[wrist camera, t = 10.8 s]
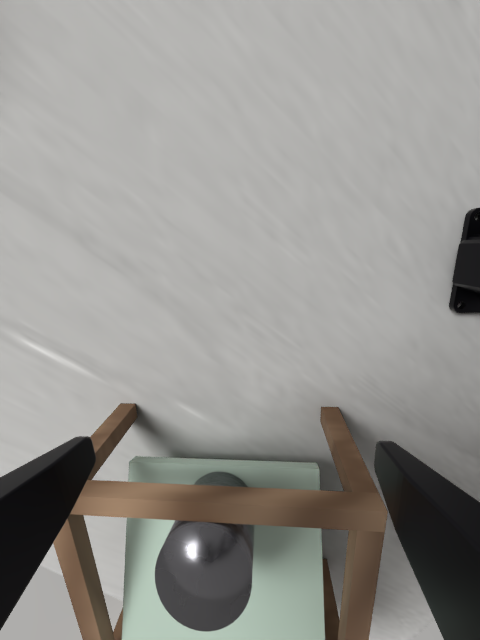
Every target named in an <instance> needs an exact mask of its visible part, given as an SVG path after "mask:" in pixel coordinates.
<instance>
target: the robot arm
mask: <svg viewBox="0 0 480 640" xmlns="http://www.w3.org/2000/svg"><path fill="white" fill-rule="evenodd" d="M476 213H477V214H478V219H477V220H475V219H474V216H475V214H476ZM460 302H461V306H460V307H457V305H458V303H460ZM449 307H450V309H451V310H453V311H455V312H459V313H474V312H480V208H475V209H472V210H470V211H469V212H468V213H467V214H466V217H465V221H464V227H463V232H462V238H461V243H460V244H459V248H458V254H457V259H456V265H455V270H454V276H453V287H452V292H451V298H450V303H449ZM95 462H96V455H95V450H94V446H93V442H92V439H91V438H90V437H82V436H79V437H75V438H73V439H71V440H70V441H68V442H66V443H64V444H62V445H60V446H58V447H57V448H55V449H53V450H51V451H49V452H47V453H45V454H43V455H42V456H40V457H38V458H36V459H34V460H32V461H30V462H28V463H27V464H25V465H23V466H21V467H19V468H17V469H15V470H14V471H12V472H10V473H8V474H6V475H4V476H2V477H0V630H1V628H2V627H3V625H4V623H5V622H6V620H7V618H8V616H9V615H10V613H11V612H12V610H13V608H14V607H15V605H16V603H17V602H18V600H19V599H20V597H21V595H22V594H23V592H24V590H25V589H26V587H27V585H28V584H29V582H30V580H31V579H32V577H33V575H34V574H35V572H36V570H37V569H38V567H39V565H40V564H41V562H42V560H43V559H44V557H45V555H46V554H47V552H48V550H49V549H50V547H51V545H52V544H53V542H54V540H55V539H56V537H57V535H58V534H59V532H60V530H61V529H62V527H63V525H64V524H65V522H66V520H67V519H68V517H69V515H70V513H71V511H72V509H73V507H74V506H75V504H76V502H77V500H78V498H79V496H80V494H81V492H82V490H83V488H84V486H85V483H86V481H87V479H88V477H89V475H90V473H91V471H92V469H93V467H94V465H95ZM374 466H375V472H376V475H377V478H378V481H379V484H380V487H381V490H382V493H383V496H384V498H385V501H386V504H387V507H388V510H389V513H390V516H391V519H392V522H393V525H394V527H395V530H396V533H397V535H398V537H399V540H400V542H401V544H402V547H403V549H404V551H405V553H406V556H407V558H408V560H409V562H410V565H411V567H412V569H413V571H414V574H415V576H416V578H417V580H418V582H419V585H420V587H421V589H422V591H423V594H424V596H425V598H426V600H427V603H428V605H429V607H430V609H431V612H432V614H433V616H434V618H435V621H436V623H437V625H438V627H439V629H440V632H441V634H442V636H443V638H444V640H480V502H478V501H477V500H475V499H474V498H473V497H471V496H470V495H468V494H467V493H465V492H464V491H463V490H461V489H460V488H458V487H457V486H455V485H454V484H453V483H451V482H450V481H448V480H447V479H446V478H444V477H443V476H441V475H440V474H438V473H437V472H436V471H434V470H433V469H431V468H430V467H428V466H427V465H426V464H424V463H423V462H421V461H420V460H418V459H417V458H416V457H414V456H413V455H411V454H410V453H409V452H407V451H406V450H404V449H403V448H401V447H400V446H399V445H397V444H396V443H394V442H392V441H379V442H377V444H376V452H375V462H374Z"/></svg>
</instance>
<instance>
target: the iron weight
mask: <svg viewBox="0 0 480 640" xmlns="http://www.w3.org/2000/svg"><path fill="white" fill-rule="evenodd" d="M193 485H210V486H233V487H247V485H246V484H245V483H244V482H243V481H242V480H241V479H239V478H238V477H236V476H235V475H233V474H230V473H226V472H211V473H208V474H206V475H204V476H202V477H201V478H199V479H198V480H197V481H196V482H195V483H194V484H193ZM254 527H255V525H250V524H232V523H214V522H197V521H179V520H175V522H174V524H173V526H172V528H171V530H170V532H169V534H168V536H167V538H166V540H165V542H164V544H163V546H162V548H161V550H160V552H159V555H158V558H157V561H156V566H155V584H156V589H157V593H158V596H159V598H160V601H161V602H162V604H163V606H164V608H165V609H166V610H167V612H168V613H169V614H170V615H171V616H172V617H173V618H174V619H175V620H176V621H177V622H179V623H180V624H182V625H183V626H186V627H188V628H190V629H193V630H197V631H205V632H209V631H216V630H220V629H222V628H225V627H227V626H229V625H230V624H232V623H233V622H234V621H235V620H236V619H238V617H239V616H240V615H241V614H242V613H243V611H244V609H245V608H246V606H247V604H248V601H249V598H250V595H251V589H252V571H253V549H254Z"/></svg>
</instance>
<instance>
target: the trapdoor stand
mask: <svg viewBox="0 0 480 640" xmlns="http://www.w3.org/2000/svg"><path fill="white" fill-rule="evenodd" d="M136 418H137V411H136V405H135V404H120V405H119V406H118V407H117V408H116V409H115V410H114V411H113V413H112V414H111V415H110V416H109V417H108V418H107V419H106V420H105V421H104V423H103V424H102V425H101V426H100V427H99V428H98V429H97V430H96V431H95V432H94V434H93V435H92V436H91V437H90V438H91V439H92V442H93V446H94V450H95V455H96V462H95V465H94V467H93V469H92V471H91V473H90V475H89V477H88V479H87V481H86V483H85V486H84V488H83V490H82V492H81V494H80V496H79V498H78V500H77V502H76V504H75V506H74V507H73V509H72V511H71V513H70V515H69V517H68V519H67V520H66V522H65V524H64V525H63V527H62V529H61V530H60V532H59V534H58V535H57V537H56V539H55V540H54V542H53V543H54V547H55V550H56V553H57V556H58V560H59V563H60V566H61V569H62V573H63V576H64V579H65V583H66V585H67V589H68V592H69V595H70V599H71V602H72V605H73V609H74V612H75V615H76V619H77V622H78V625H79V628H80V632H81V635H82V638H83V640H122V622H123V609H122V611H121V614H120V616H119V619H118V622H117V624H116V627H115V629H114V632H113V630H112V626H111V623H110V619H109V615H108V611H107V607H106V603H105V599H104V595H103V591H102V587H101V583H100V579H99V575H98V572H97V568H96V564H95V560H94V556H93V552H92V548H91V544H90V540H89V536H88V532H87V528H86V524H85V521H84V517H83V515H91V516H109V517H127V518H144V519H162V520H179V521H197V522H214V523H232V524H250V525H267V526H285V527H302V528H320V529H337V530H349V533H348V543H347V553H346V563H345V572H344V582H343V592H342V602H341V612H340V621H339V616H338V611H337V606H336V601H335V596H334V592H333V587H332V582H331V577H330V572H329V567H328V563H327V559H322V564H323V594H324V624H325V640H369V633H370V626H371V620H372V613H373V606H374V600H375V593H376V586H377V580H378V573H379V567H380V560H381V553H382V547H383V540H384V533H385V527H386V520H387V513H388V511H387V509H386V507H385V505H384V503H383V501H382V499H381V497H380V495H379V492H378V490H377V488H376V486H375V484H374V482H373V480H372V478H371V476H370V474H369V471H368V469H367V467H366V465H365V463H364V461H363V459H362V457H361V455H360V452H359V450H358V448H357V446H356V444H355V442H354V440H353V438H352V436H351V433H350V431H349V429H348V427H347V425H346V423H345V421H344V419H343V417H342V415H341V412H340V410H339V408H338V407H321V420H320V421H321V424H322V427H323V430H324V433H325V436H326V439H327V442H328V445H329V448H330V451H331V454H332V457H333V460H334V463H335V466H336V469H337V472H338V475H339V478H340V481H341V484H342V487H343V490H344V491H323V490H300V489H278V488H255V487H233V486H210V485H187V484H165V483H142V482H120V481H97V480H92V478H93V477H94V476H95V474H96V473H97V471H98V470H99V469H100V467H101V466H102V465H103V463H104V462H105V461H106V459H107V458H108V457H109V455H110V454H111V452H112V451H113V450H114V448H115V447H116V446H117V444H118V443H119V442H120V440H121V439H122V437H123V436H124V435H125V433H126V432H127V431H128V429H129V428H130V427H131V425H132V424H133V422H134V421H135V420H136Z"/></svg>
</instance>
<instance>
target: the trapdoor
mask: <svg viewBox="0 0 480 640" xmlns="http://www.w3.org/2000/svg"><path fill="white" fill-rule="evenodd" d="M211 472H226V473H230V474H233V475H235V476H236V477H238V478H239V479H241V480H242V481H243V482H244V483H245V484H246V485H247V487H255V488H278V489H300V490H320V475H319V467H318V465H317V463H308V462H280V461H252V460H223V459H195V458H167V457H138V456H135V457H134V458H133V459H132V460H131V461H130V462H129V478H128V482H142V483H165V484H187V485H193V484H194V483H195V482H196V481H197V480H198V479H199V478H201V477H202V476H204V475H206V474H208V473H211ZM174 522H175V520H162V519H144V518H127V526H126V550H125V574H124V598H123V622H122V640H325V624H324V594H323V564H322V534H321V529H320V528H302V527H285V526H267V525H255V527H254V549H253V571H252V589H251V595H250V598H249V601H248V604H247V606H246V608H245V609H244V611H243V613H242V614H241V615H240V616H239V617H238V619H236V620H235V621H234V622H233V623H232V624H230V625H229V626H227V627H225V628H222V629H220V630H216V631H209V632H205V631H197V630H193V629H190V628H188V627H186V626H183V625H182V624H180V623H179V622H177V621H176V620H175V619H174V618H173V617H172V616H171V615H170V614H169V613H168V612H167V610H166V609H165V608H164V606H163V604H162V602H161V601H160V598H159V596H158V593H157V589H156V584H155V566H156V561H157V558H158V555H159V552H160V550H161V548H162V546H163V544H164V542H165V540H166V538H167V536H168V534H169V532H170V530H171V528H172V526H173V524H174Z"/></svg>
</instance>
